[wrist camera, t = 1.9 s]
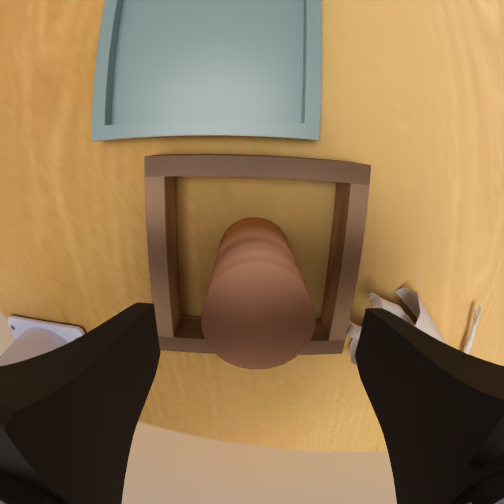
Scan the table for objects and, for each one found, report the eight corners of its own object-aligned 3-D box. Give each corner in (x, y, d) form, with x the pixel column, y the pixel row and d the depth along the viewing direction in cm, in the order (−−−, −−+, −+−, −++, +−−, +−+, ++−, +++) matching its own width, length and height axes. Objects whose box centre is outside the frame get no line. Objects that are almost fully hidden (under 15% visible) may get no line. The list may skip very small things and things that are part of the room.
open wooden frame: (332, 331, 20) (341, 353, 18) (167, 327, 20) (158, 349, 18) (354, 162, 17) (371, 165, 14) (158, 154, 16) (144, 156, 14)
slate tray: (313, 140, 16) (319, 140, 15) (103, 141, 16) (91, 141, 15) (313, -56, 12) (317, -68, 10) (127, -50, 11) (120, -60, 10)
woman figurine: (445, 249, 14) (521, 357, 19) (404, 223, 18) (496, 332, 23) (302, 400, 17) (433, 444, 22) (290, 354, 21) (417, 414, 26)
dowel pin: (285, 283, 19) (307, 368, 12) (219, 281, 19) (203, 367, 11) (290, 218, 18) (322, 274, 10) (219, 216, 18) (199, 271, 10)
